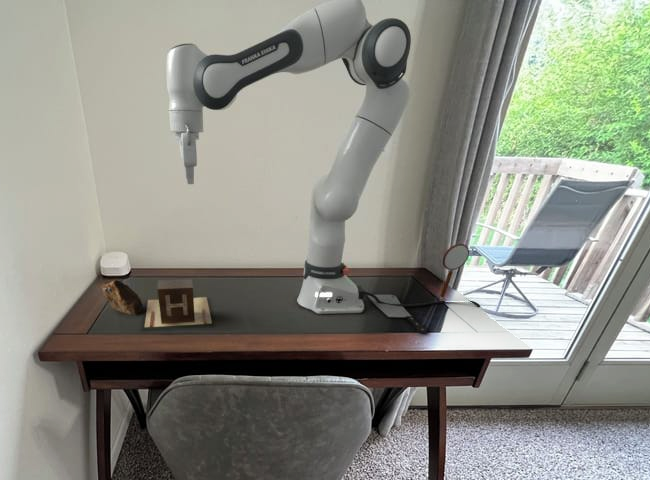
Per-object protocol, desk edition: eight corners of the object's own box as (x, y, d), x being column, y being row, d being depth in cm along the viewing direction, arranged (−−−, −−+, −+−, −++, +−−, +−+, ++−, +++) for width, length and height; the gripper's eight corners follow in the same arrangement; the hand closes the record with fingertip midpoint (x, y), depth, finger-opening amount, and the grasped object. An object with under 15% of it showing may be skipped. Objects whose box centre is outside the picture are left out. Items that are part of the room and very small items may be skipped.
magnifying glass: (430, 302, 124) (449, 244, 113) (427, 300, 126) (446, 243, 115) (453, 301, 125) (474, 244, 114) (450, 299, 127) (471, 243, 116)
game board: (206, 299, 124) (206, 296, 123) (212, 325, 107) (212, 322, 106) (148, 302, 121) (147, 298, 120) (144, 329, 104) (144, 326, 104)
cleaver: (397, 333, 104) (430, 333, 104) (397, 332, 104) (431, 332, 104) (366, 295, 129) (393, 295, 129) (366, 294, 128) (394, 294, 129)
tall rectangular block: (193, 311, 113) (191, 279, 107) (195, 322, 107) (192, 288, 101) (162, 313, 112) (158, 280, 106) (161, 324, 106) (157, 289, 100)
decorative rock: (104, 311, 114) (98, 279, 108) (117, 304, 119) (111, 273, 113) (135, 318, 110) (129, 285, 104) (146, 311, 115) (142, 279, 109)
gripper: (200, 124, 87) (203, 186, 94) (196, 125, 103) (198, 177, 111) (174, 124, 86) (179, 186, 93) (174, 124, 103) (178, 177, 110)
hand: (189, 181), depth 102 cm, fingers open, 8 cm apart
